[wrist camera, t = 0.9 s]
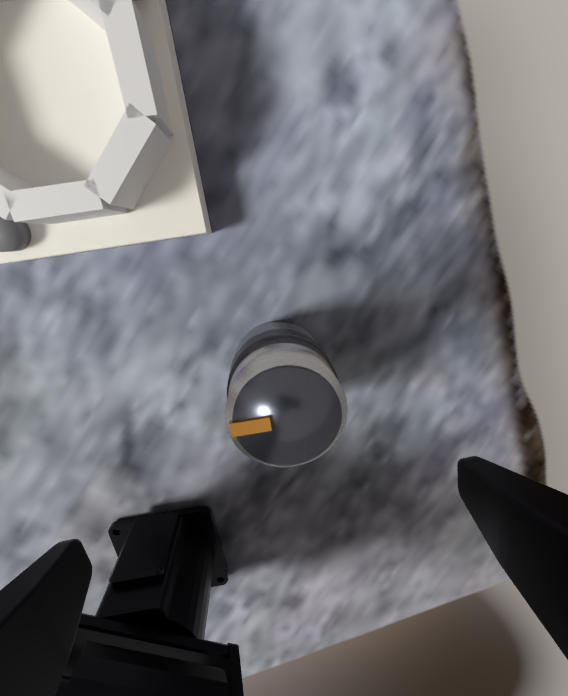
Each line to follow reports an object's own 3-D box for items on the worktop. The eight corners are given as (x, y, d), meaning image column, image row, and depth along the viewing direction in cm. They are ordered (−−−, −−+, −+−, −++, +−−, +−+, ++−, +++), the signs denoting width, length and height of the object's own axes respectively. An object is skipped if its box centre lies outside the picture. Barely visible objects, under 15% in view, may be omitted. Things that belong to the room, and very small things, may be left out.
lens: (327, 396, 21) (357, 464, 14) (241, 410, 20) (235, 485, 14) (317, 312, 19) (347, 349, 13) (224, 327, 19) (209, 371, 13)
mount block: (211, 232, 17) (197, 232, 13) (20, 261, 17) (-59, 270, 13) (154, -55, 14) (108, -186, 9) (-88, -25, 13) (-248, -145, 9)
